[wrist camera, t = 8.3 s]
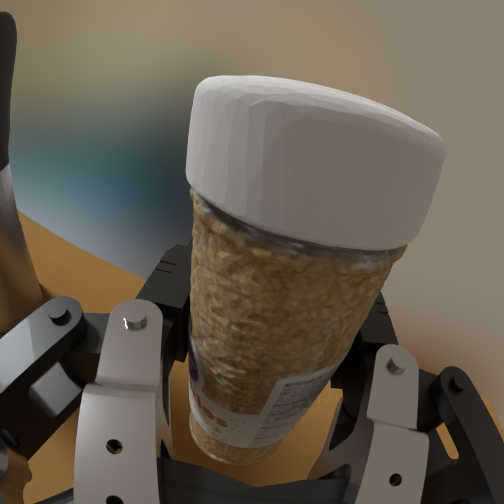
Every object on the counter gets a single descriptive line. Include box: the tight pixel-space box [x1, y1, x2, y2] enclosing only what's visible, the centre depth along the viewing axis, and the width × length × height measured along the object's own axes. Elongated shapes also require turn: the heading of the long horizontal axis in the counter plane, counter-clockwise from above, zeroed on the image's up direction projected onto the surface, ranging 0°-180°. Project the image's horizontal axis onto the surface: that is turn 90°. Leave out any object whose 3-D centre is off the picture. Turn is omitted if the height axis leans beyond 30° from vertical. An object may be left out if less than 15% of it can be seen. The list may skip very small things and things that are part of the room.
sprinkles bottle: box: [186, 76, 445, 466], centre depth 8 cm, size 5×5×14 cm
